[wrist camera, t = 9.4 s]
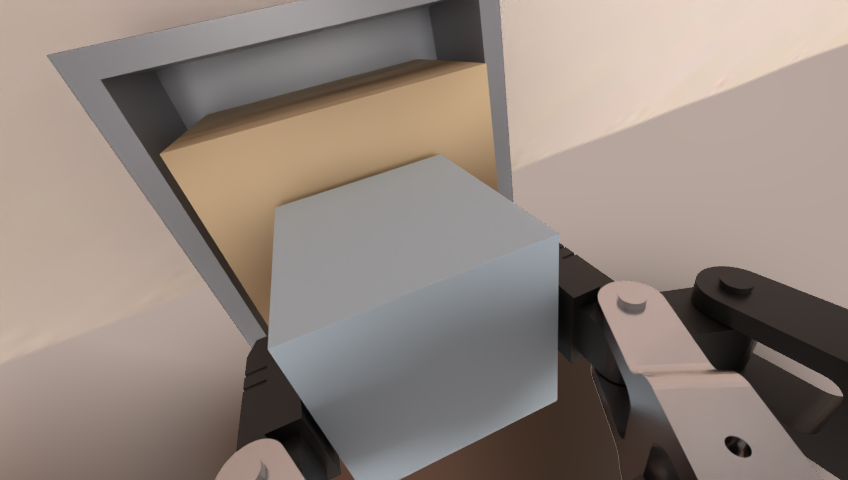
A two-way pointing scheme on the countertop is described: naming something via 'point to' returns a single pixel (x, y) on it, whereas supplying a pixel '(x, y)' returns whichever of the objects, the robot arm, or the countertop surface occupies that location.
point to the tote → (263, 90)
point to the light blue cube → (414, 314)
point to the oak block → (326, 150)
